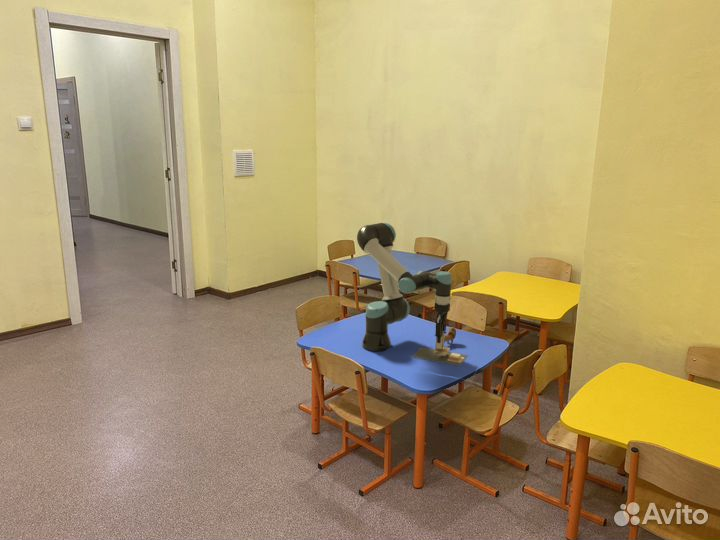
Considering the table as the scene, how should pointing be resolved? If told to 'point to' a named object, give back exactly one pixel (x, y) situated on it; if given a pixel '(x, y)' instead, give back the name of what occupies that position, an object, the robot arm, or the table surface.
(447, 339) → the lion figurine
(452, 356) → the cream square tile
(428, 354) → the taupe mat
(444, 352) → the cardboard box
